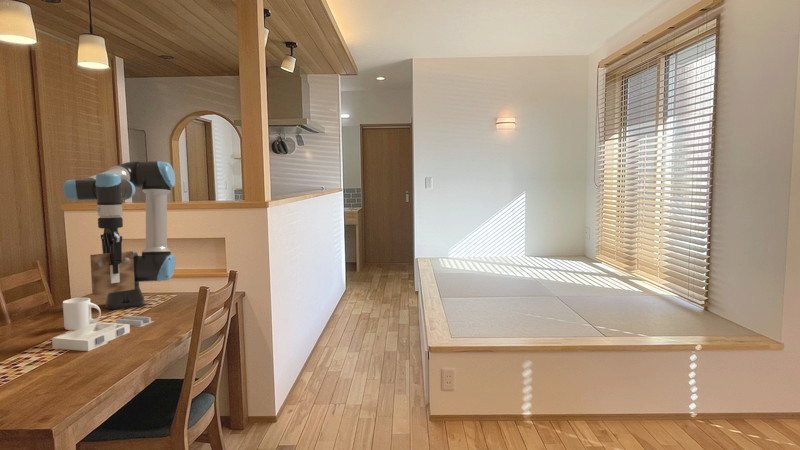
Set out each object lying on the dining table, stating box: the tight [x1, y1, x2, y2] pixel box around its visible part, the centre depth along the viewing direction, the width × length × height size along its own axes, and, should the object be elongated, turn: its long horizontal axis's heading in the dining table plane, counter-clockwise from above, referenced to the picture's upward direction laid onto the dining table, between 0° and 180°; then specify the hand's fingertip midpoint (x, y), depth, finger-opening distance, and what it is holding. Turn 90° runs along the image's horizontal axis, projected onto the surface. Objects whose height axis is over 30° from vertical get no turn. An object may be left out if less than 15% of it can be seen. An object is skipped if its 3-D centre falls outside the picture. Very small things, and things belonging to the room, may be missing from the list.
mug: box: [62, 297, 102, 331], centre depth 179 cm, size 9×12×11 cm
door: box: [89, 250, 135, 296], centre depth 169 cm, size 13×3×14 cm, turn 140°
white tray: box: [51, 321, 131, 352], centre depth 164 cm, size 18×14×4 cm
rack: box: [115, 315, 155, 328], centre depth 183 cm, size 7×13×2 cm, turn 79°
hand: (113, 282), depth 169 cm, fingers closed on door, 2 cm apart
